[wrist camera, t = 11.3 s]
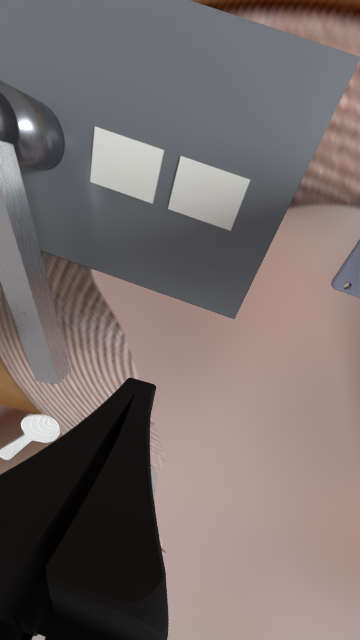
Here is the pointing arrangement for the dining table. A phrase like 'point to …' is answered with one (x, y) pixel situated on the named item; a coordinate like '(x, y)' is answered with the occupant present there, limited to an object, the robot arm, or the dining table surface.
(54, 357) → the swing bar
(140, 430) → the robot arm
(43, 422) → the spoon
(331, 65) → the label panel
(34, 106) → the grooved metal knob
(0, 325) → the dining table surface
